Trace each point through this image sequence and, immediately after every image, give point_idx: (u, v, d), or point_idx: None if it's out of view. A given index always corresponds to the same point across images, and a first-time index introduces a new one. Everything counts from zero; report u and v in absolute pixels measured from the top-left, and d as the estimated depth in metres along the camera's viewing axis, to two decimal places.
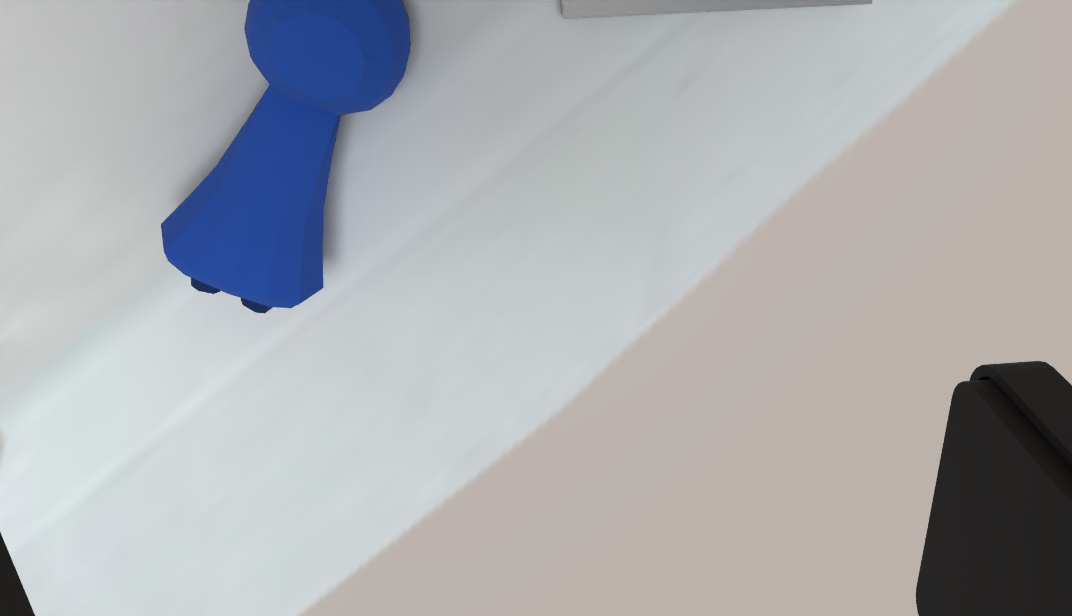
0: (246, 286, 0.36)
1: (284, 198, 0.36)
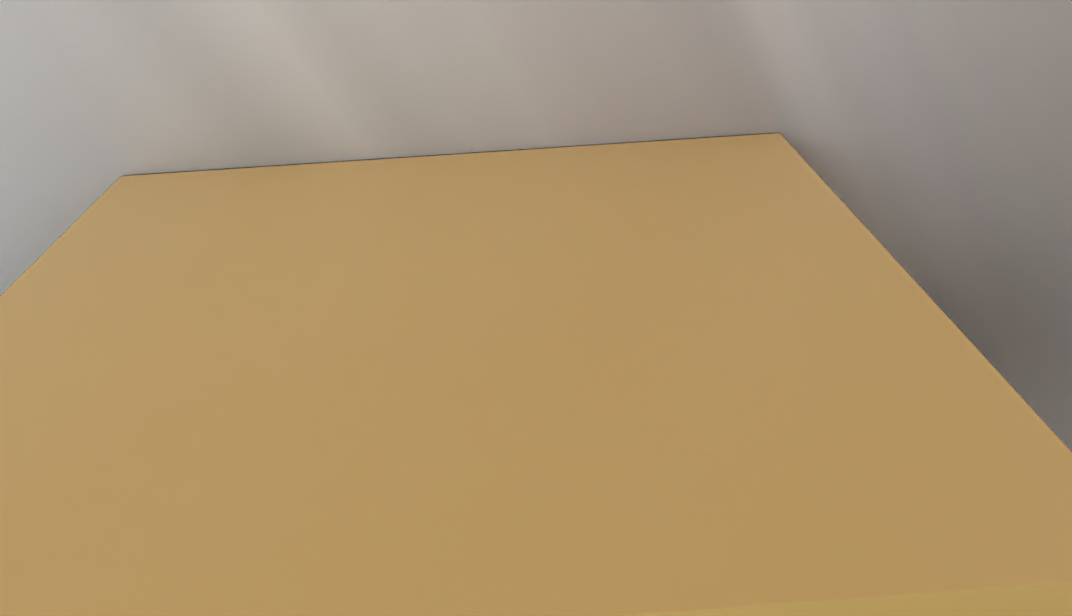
0: None
1: None
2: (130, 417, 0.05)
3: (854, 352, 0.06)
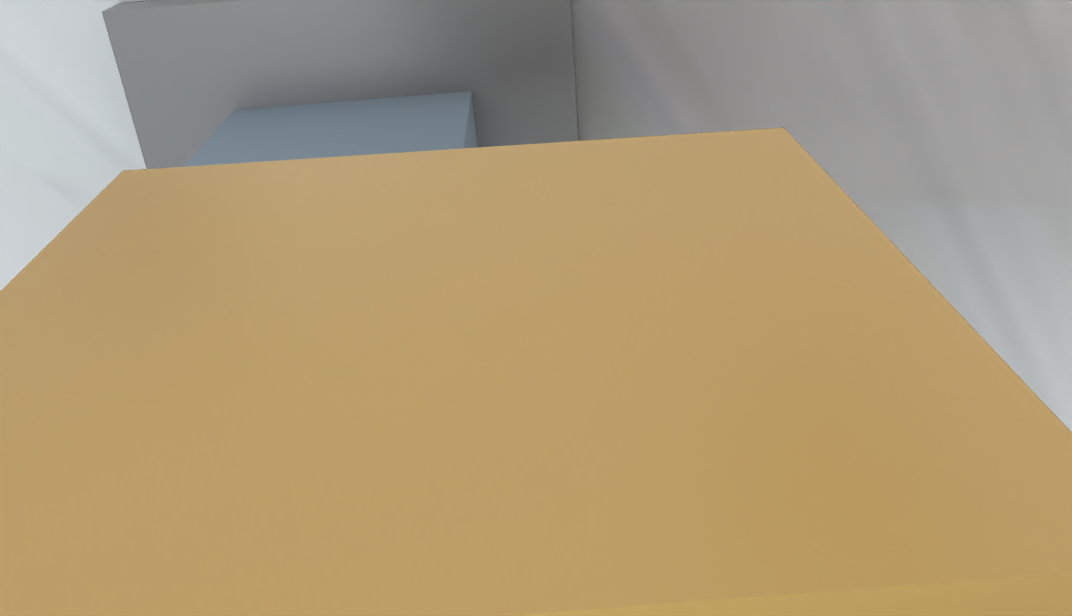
0: None
1: None
2: (133, 411, 0.05)
3: (863, 343, 0.05)
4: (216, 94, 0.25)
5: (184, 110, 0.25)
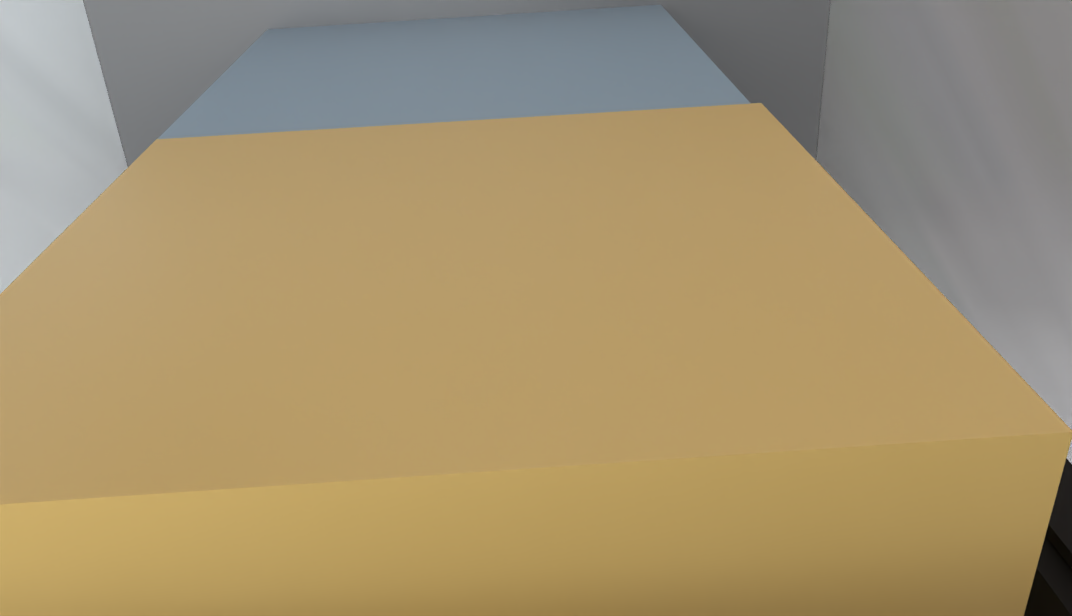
0: None
1: None
2: (187, 327, 0.06)
3: (816, 275, 0.06)
4: (237, 1, 0.15)
5: (182, 28, 0.15)
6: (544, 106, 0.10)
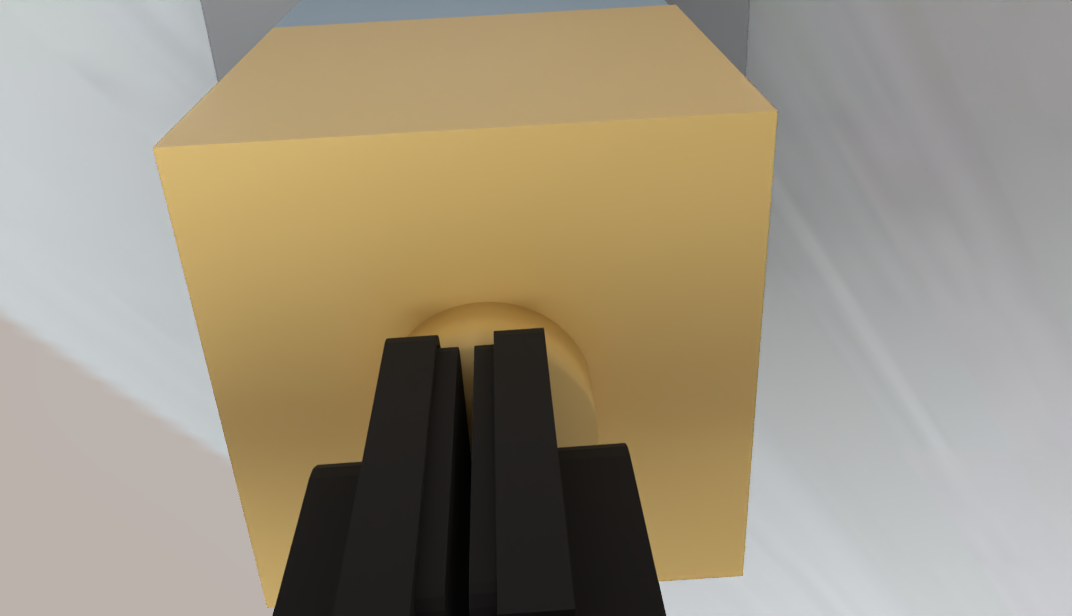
0: None
1: None
2: (327, 94, 0.11)
3: (677, 69, 0.11)
4: None
5: None
6: (530, 9, 0.15)
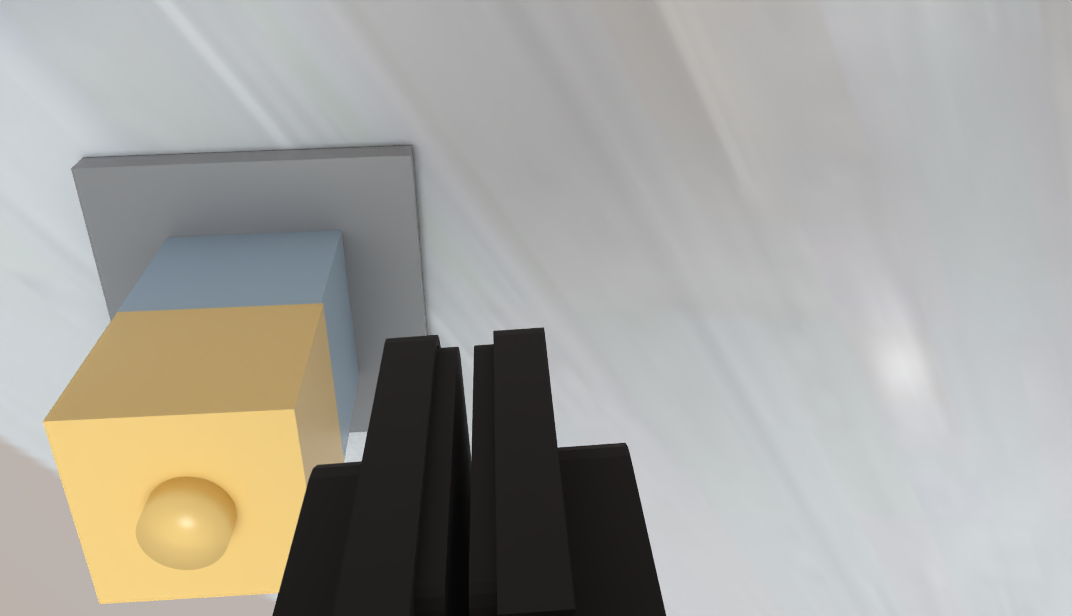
0: None
1: None
2: (123, 382, 0.26)
3: (278, 372, 0.26)
4: (153, 226, 0.35)
5: (129, 236, 0.35)
6: (253, 299, 0.30)
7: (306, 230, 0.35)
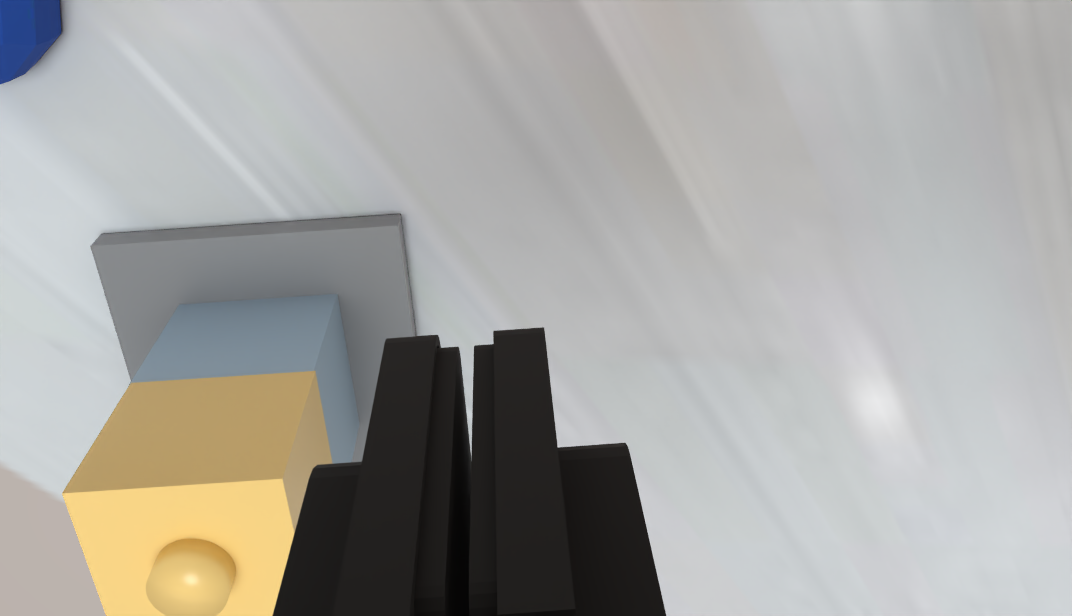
0: None
1: None
2: (134, 454, 0.29)
3: (271, 442, 0.29)
4: (166, 295, 0.38)
5: (144, 304, 0.38)
6: (253, 368, 0.33)
7: (305, 295, 0.38)
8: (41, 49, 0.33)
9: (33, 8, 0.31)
